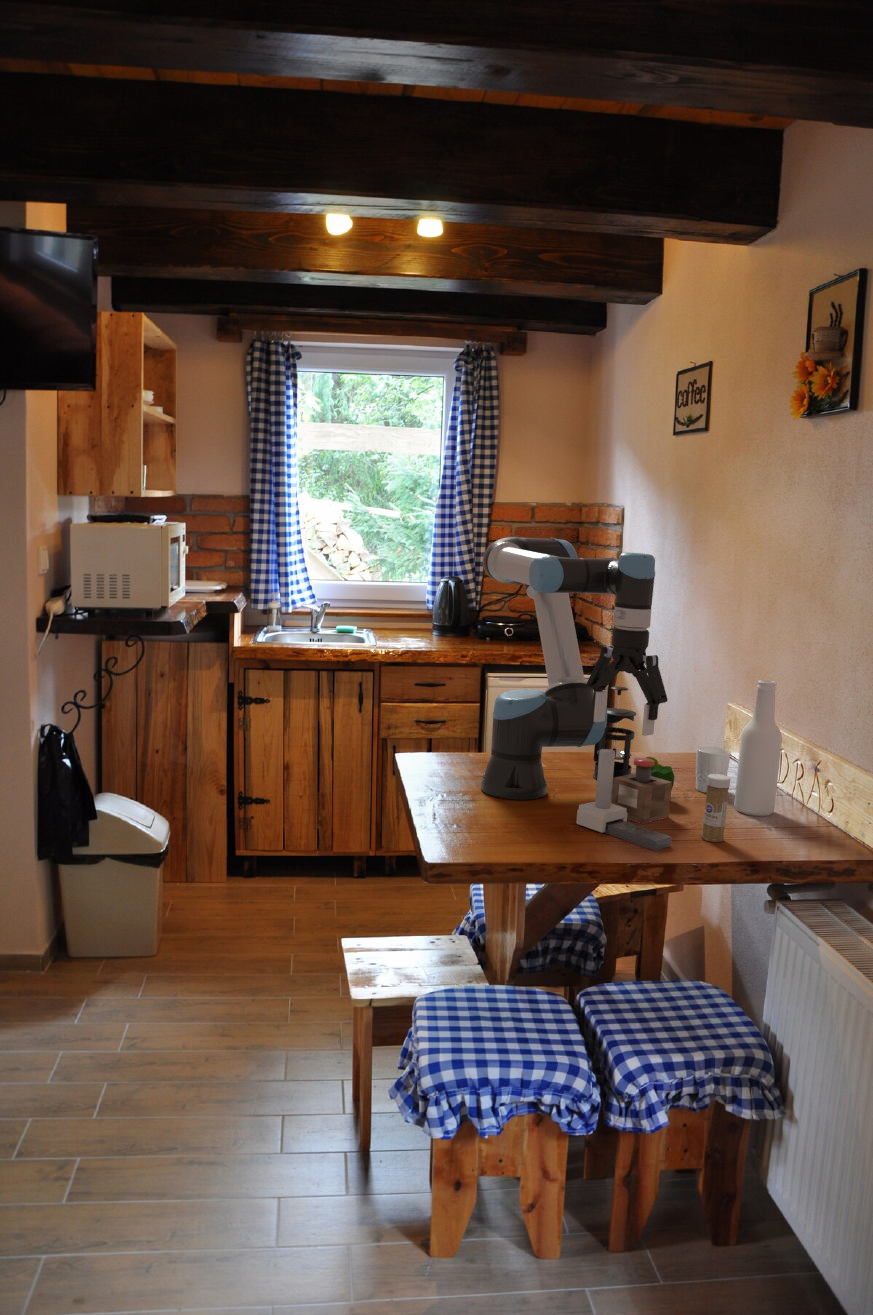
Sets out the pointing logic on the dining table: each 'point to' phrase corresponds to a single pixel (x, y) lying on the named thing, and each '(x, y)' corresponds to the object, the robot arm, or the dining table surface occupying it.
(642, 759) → the red button
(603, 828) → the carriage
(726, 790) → the sprinkles bottle
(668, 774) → the bell pepper
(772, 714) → the alcohol
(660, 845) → the rail
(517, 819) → the dining table surface
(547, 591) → the robot arm
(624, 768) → the french press
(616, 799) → the button box
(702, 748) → the white cup
